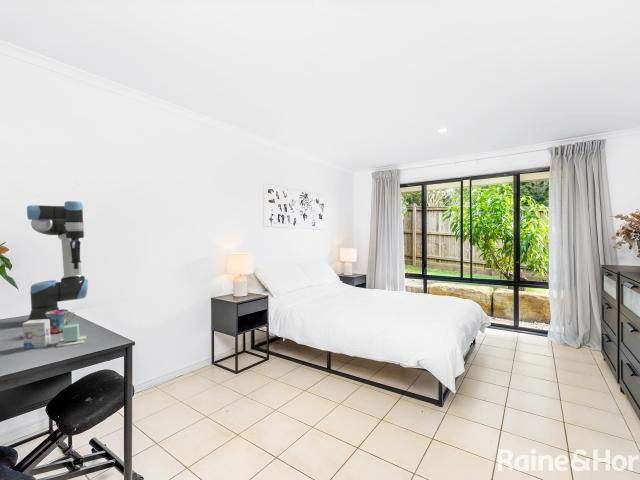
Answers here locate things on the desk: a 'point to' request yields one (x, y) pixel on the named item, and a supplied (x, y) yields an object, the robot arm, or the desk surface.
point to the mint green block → (71, 332)
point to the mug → (57, 320)
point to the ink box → (36, 333)
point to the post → (79, 341)
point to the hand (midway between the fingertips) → (76, 274)
